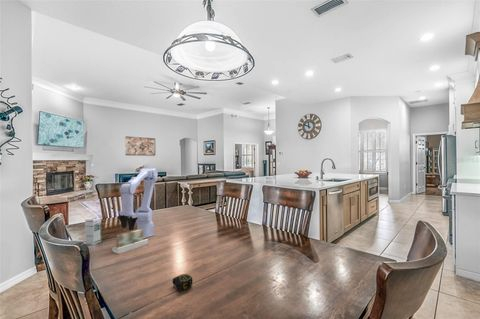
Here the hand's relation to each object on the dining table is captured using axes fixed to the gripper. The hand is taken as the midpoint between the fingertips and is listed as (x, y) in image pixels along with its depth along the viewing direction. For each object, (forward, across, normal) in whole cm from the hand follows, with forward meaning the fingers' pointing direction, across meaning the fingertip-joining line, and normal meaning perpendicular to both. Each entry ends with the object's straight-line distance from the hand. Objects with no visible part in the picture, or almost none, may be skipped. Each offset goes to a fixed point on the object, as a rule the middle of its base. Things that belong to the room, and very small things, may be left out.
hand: (127, 228), depth 133 cm
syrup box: (+10, -22, -9) cm, 25 cm away
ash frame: (+9, +4, -1) cm, 10 cm away
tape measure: (+10, +59, -11) cm, 61 cm away
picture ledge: (+10, +4, 0) cm, 10 cm away
